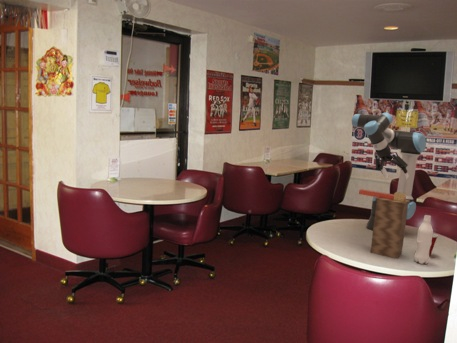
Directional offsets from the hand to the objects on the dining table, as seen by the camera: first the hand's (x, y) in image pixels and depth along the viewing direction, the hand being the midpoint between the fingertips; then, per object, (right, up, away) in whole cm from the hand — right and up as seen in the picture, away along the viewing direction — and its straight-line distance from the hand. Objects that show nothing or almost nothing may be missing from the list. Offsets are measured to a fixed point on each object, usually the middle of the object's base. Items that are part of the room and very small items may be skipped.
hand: (397, 177), depth 259 cm
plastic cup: (+12, -42, -8) cm, 45 cm away
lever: (-13, -10, -12) cm, 21 cm away
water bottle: (+4, -44, -22) cm, 49 cm away
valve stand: (-10, -41, -11) cm, 44 cm away
